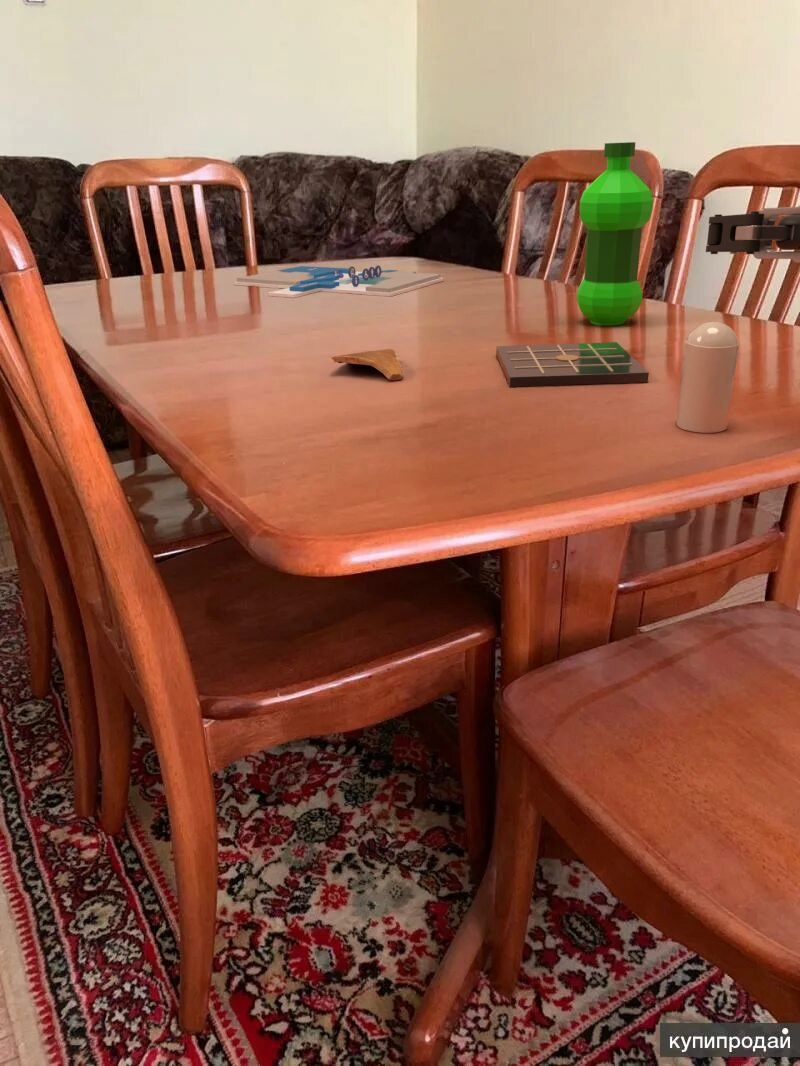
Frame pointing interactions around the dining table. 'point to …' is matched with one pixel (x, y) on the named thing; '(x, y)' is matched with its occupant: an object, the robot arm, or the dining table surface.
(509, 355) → the board
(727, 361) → the dome-topped cylinder
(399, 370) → the pottery shard
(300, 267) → the relief map
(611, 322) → the plastic bottle
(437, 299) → the dining table surface
